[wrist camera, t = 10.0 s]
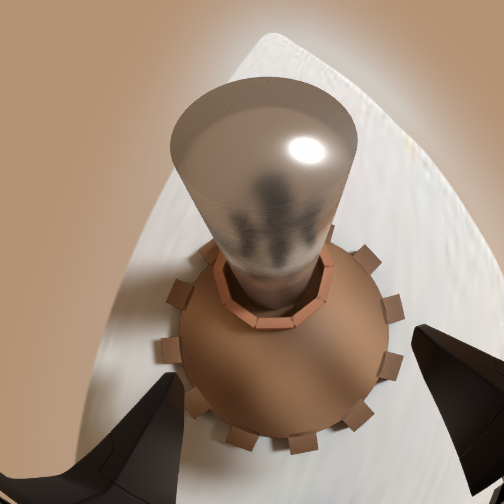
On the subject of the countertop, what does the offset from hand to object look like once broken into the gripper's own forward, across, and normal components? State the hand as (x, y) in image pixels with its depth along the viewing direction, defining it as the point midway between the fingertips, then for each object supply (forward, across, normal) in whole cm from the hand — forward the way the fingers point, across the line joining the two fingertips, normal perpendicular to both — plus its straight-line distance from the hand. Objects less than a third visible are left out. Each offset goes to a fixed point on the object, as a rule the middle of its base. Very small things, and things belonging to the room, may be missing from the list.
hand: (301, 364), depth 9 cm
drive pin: (+9, 0, +1) cm, 9 cm away
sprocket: (+8, 0, +5) cm, 9 cm away
